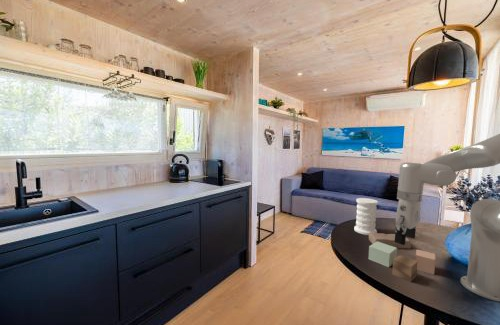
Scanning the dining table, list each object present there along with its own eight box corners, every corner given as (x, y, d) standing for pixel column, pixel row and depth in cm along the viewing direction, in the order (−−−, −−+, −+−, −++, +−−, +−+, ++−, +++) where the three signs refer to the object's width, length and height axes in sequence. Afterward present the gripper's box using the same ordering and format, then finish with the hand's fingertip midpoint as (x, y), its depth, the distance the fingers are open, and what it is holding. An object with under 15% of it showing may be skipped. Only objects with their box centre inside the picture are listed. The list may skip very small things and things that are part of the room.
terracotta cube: (433, 267, 90) (434, 253, 89) (434, 274, 85) (435, 259, 85) (415, 262, 94) (416, 249, 93) (414, 269, 89) (415, 254, 88)
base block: (396, 261, 95) (397, 247, 95) (388, 267, 90) (389, 253, 90) (376, 253, 101) (377, 241, 101) (368, 259, 96) (369, 246, 96)
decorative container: (349, 229, 130) (351, 199, 128) (362, 225, 135) (363, 197, 133) (368, 236, 119) (370, 204, 118) (381, 232, 125) (383, 201, 123)
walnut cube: (416, 276, 84) (417, 261, 84) (410, 282, 81) (411, 266, 80) (398, 269, 89) (399, 254, 88) (392, 274, 85) (393, 259, 85)
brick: (401, 241, 114) (401, 232, 114) (411, 249, 106) (412, 240, 105) (367, 240, 116) (368, 231, 115) (375, 248, 107) (375, 238, 107)
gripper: (412, 201, 74) (407, 250, 76) (429, 195, 84) (424, 238, 86) (388, 196, 80) (384, 242, 82) (406, 191, 90) (402, 231, 92)
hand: (404, 240), depth 84 cm, fingers open, 9 cm apart
